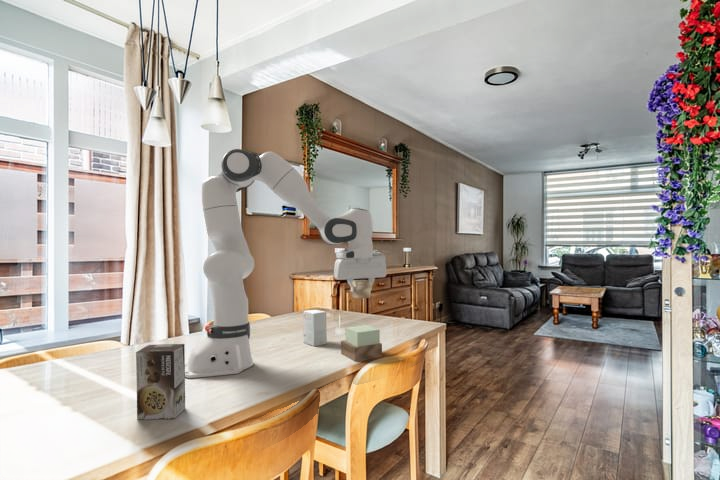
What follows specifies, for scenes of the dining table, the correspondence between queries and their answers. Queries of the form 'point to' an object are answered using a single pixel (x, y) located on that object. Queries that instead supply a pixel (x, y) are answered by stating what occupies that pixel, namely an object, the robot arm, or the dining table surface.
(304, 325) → the small box
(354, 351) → the walnut block
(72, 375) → the dining table surface
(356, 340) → the sage block
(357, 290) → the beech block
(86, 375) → the dining table surface
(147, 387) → the coffee box
